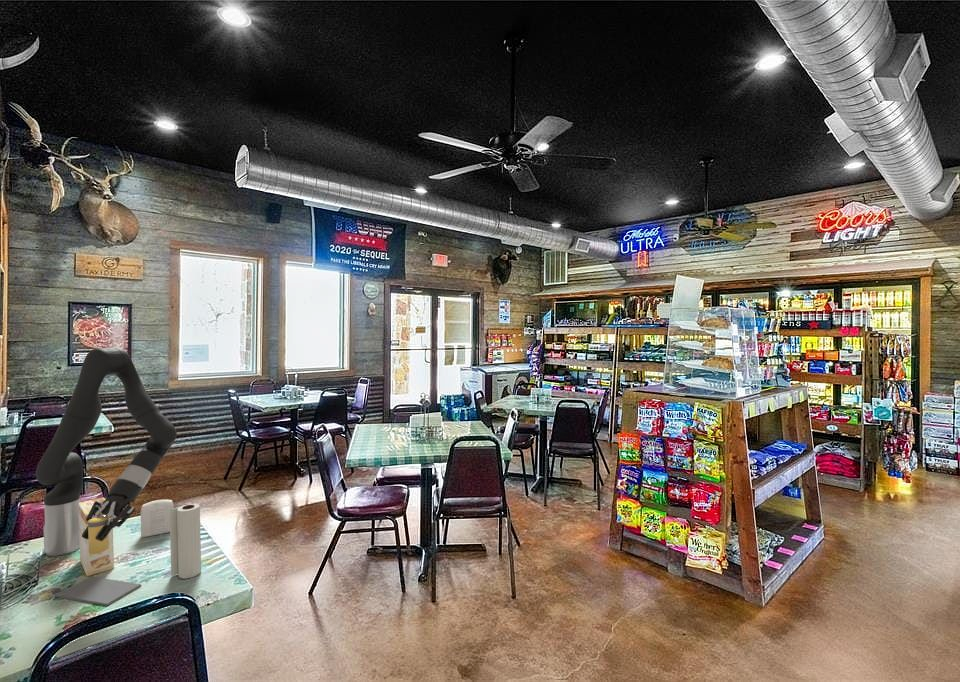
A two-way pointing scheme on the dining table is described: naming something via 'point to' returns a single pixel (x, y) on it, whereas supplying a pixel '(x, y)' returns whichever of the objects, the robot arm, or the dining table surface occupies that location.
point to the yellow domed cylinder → (93, 530)
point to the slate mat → (98, 590)
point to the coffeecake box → (88, 560)
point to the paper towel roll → (185, 540)
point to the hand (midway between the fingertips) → (91, 538)
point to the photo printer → (156, 517)
